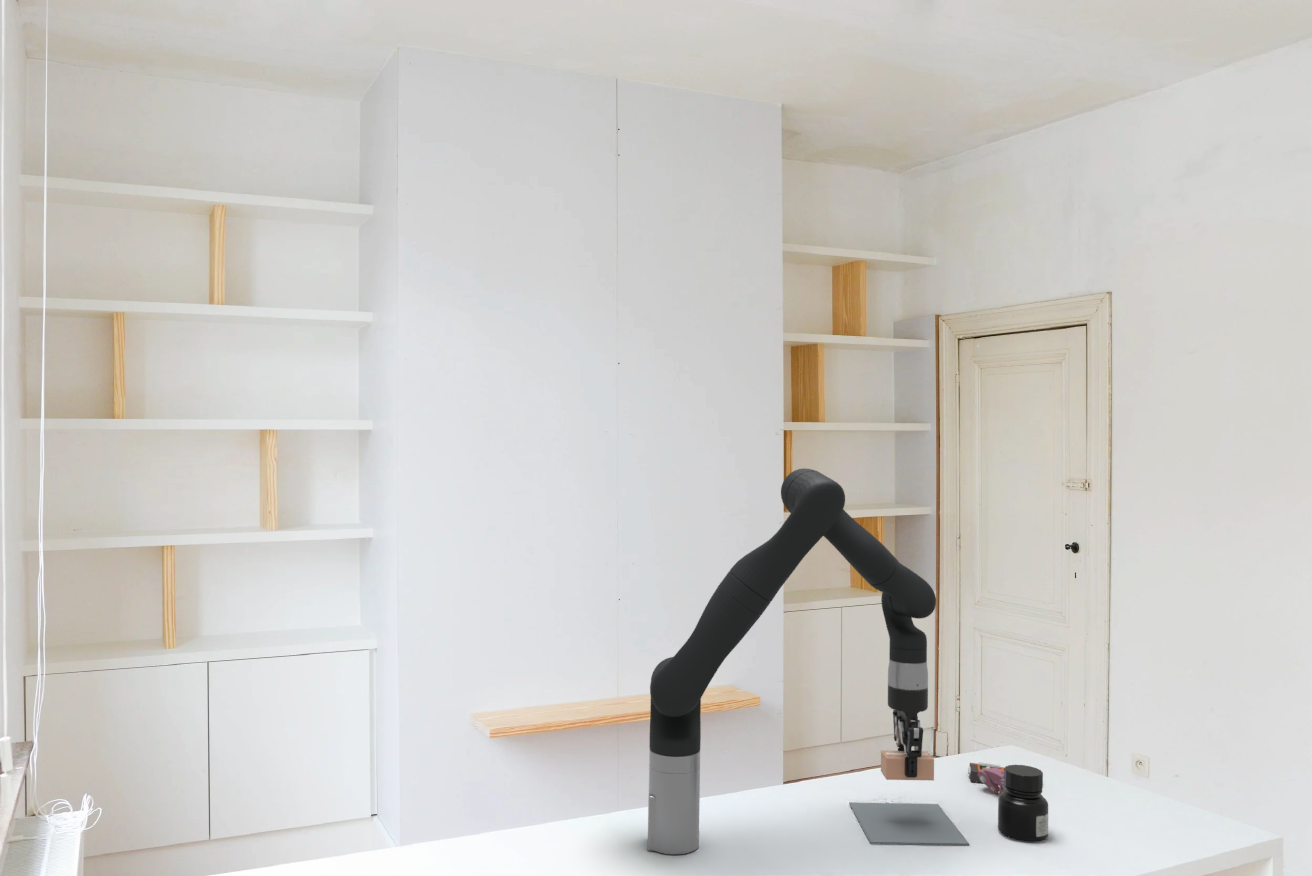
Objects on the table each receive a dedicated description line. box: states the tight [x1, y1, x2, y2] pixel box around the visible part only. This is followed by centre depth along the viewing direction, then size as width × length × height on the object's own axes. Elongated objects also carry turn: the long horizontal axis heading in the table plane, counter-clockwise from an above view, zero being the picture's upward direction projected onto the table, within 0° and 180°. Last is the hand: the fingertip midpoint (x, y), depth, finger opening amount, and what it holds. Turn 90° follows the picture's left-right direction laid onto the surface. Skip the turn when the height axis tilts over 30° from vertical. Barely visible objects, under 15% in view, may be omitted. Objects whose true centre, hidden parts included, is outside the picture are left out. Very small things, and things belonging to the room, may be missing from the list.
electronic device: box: [967, 761, 1005, 784], centre depth 213 cm, size 7×3×15 cm
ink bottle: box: [997, 764, 1049, 843], centre depth 183 cm, size 10×9×12 cm
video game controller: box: [978, 766, 1005, 795], centre depth 204 cm, size 10×5×7 cm, turn 26°
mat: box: [848, 801, 970, 847], centre depth 187 cm, size 18×20×1 cm
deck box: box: [880, 750, 935, 782], centre depth 187 cm, size 5×9×4 cm, turn 89°
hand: (907, 771), depth 187 cm, fingers closed on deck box, 5 cm apart
